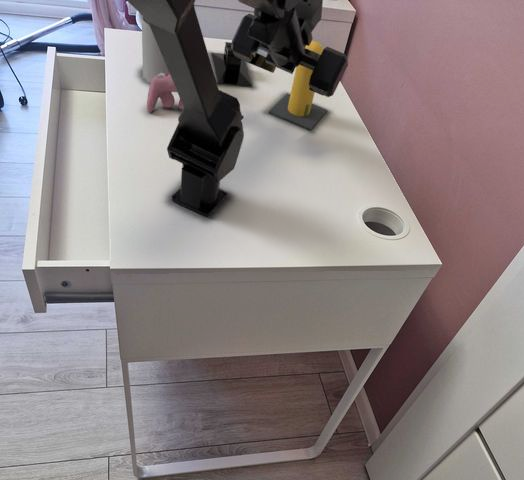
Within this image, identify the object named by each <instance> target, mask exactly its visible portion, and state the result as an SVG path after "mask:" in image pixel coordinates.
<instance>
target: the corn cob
mask: <svg viewBox="0 0 524 480" xmlns="http://www.w3.org/2000/svg"><path fill="white" fill-rule="evenodd" d="M305 48H306V49H308V50H311V51H313V52H315V53H318V54H320V55H321V54H322V52H323V50H324V48H323V46H322V45H321V43H320V42H318V41H316V40H312V41H311V43H310V45H309V46H307V45H306V47H305ZM306 56H307V55H306ZM308 57H309V56H308ZM317 61H318V60H317ZM312 72H313V70H311V69H309V68H306V67H304V66H302V65H299V66H297V67H295V70H294V76H293V82H292V84H291V85H292V86H291V91H290V99H289V104H288V111H289V112H290V113H291V114H293V115H296V116H300V117H307V116H308V115H309V113H310V109H311V105H312V104H313V101H314V97H315V94H316V92H313V91H311V90H309V88H310V87H309V81H310V76H311V74H312Z"/></svg>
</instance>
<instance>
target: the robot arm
mask: <svg viewBox="0 0 524 480" xmlns="http://www.w3.org/2000/svg"><path fill="white" fill-rule="evenodd" d="M126 1H127V3H129V4H130V5H131V6H132V7H133V8H134V9H135V10H136V11H137V12H138V13H139V14H140V15H141V17H142V16H143V17H144V18H145V19H146V20H147V21H148V23H149V26H150V28H151V30H152V33H153V35H154V37H155V40H156V42H157V45H158V47H159V49H160V52H161V54H162V56H163V59H164V61H165V64H166V66H167V68H168V71H169V73H170V76H171V78H172V80H173V83H174V85H175V87H176V90H177V92H176V93H177V94H178V97H179V100H180V99H181V102H182V104H183V107H184V108H183V110H181V112H180V114H178V117H177V121H178V123H177V125H176V127H175V130H174V132H173V134H172V136H171V138H170V141H169V143H168V145H167V147H166V150H167V151H166V152H167V154H168V158H169V159H170V160H174V161H176V162H179V163H180V164H181V174H180V175H181V176H180V177H181V178H180V188H179V189H178V190H177V191H175V193H174V194H172V195H171V201H172V202H174V203H175V204H178V205H180V206H183V207H185V208H187V209H189V210H191V211H194V212H196V213H197V214H200V215H201V216H204V217H209V216H210V215H211V214H212V213H213V212H214V211H215V210H216V209H217V208H218V207H219V206H220V204H221V203H222V202H223V201H224V200H225V199H226V198H227V197H228V192H226V191H225V190H222V189H220V185H221V181H222V180H223V179H224V178H226V177H227V176H228V175H229V174H230V173H231V172H232V171H233V170H234V169H235V168H236V165H237V161H238V159H239V155H240V151H241V148H242V144H243V142H244V137H245V133H244V125H243V122H242V121H243V119H244V118H245V116H244V115H243V114H242V110H241V104H240V101H239V100H238V98H237V97H235V96H233V95H231V94H228V93H226V92H225V91H222V90H220V89H219V87H218V84H217V79H216V75H215V71H214V68H213V65H212V62H211V59H210V56H209V52H208V48H207V46H206V42H205V39H204V35H203V32H202V28H201V25H200V21H199V18H198V15H197V11H196V8H195V7H196V6H195V2H196V0H126ZM237 1H238V3H241V4H243V5H245V6H248V7H250V8H253V14H252V13H247V14H245V15H244V16H243V17H242V18H241V20H240V23H239V25H238V27H237V29H236V31H235V34H234V35H233V38H232V40H231V43H232V44H231V47H232V51H233V53H234V55H235V56H236V57H238V58H240V59H242V60H243V61H246V63H248V64H250V65H252V66H255V67H257V68H259V69H262V70H265V71H267V72H269V73H272V74H274V73H275V71H276V69H280V70H282V71H283V72H286V73H288V74H291V75H293V73H295V71H296V67H297V66H299V65H302V66H304V67H306V68H309V69H311V70H313V72H312V74H311V76H310V81H309V87H310V88H309V90H311V91H313V92H315V94H318V95H319V96H324V97H327V98H330V97H332V96H334V94H335V92H336V90H337V88H338V86H339V84H340V82H341V80H342V78H343V76H344V74H345V72H346V71H347V69H348V66H349V61H348V56H347V54H346V53H343V52H342V51H339V50H336V49H334V48H332V47H329V46H326V47H324V48H323V52H322V54H321V55H320V54H318V53H315V52H313V51H311V50H308V49H306V48H305V47H306V45H307V46H309V45H310V43H311V41H313V34H312V33H313V31H314V29H316V26H317V25H318V24H319V22H321V20H322V16H323V2H324V0H237ZM306 55H307V56H306ZM308 56H309V57H308ZM317 60H318V61H317Z"/></svg>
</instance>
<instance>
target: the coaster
mask: <svg viewBox="0 0 524 480" xmlns="http://www.w3.org/2000/svg"><path fill="white" fill-rule="evenodd" d="M290 95H291V93H288V92H287V93H286V94H285V95H284V96H283V97H282V98H281V99H280V100H279V101H278V102H277V103H276V104H274V106H273V107H271V108H270V109H269V110H268V114H270V115H272V116H274V117H276V118H278V119H282V120H284V121H286V122H288V123H291V124H293V125H296V126H298V127H299V128H303V129H305V130H308V131H309V132H311V131H312V130H313V129H314V128H315V126H316V125H317V124H318V123H319V122H320V121H321V120H322V118H323V117H324V116H325V115H326V114H327V113H328V109H326V108H324V107H322V106H319V105H317V104H315V103H312V105H311V109H310V113H309V115H308V116H307V117H300V116H296V115H293V114H291V113H290V112H289V111H288V104H289V99H290Z"/></svg>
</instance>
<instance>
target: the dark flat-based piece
mask: <svg viewBox="0 0 524 480" xmlns="http://www.w3.org/2000/svg"><path fill="white" fill-rule="evenodd" d="M231 44H232V42H228V41H225V42H224V50H223V53H219V52H211V53H210V56H211V61H212V67H213V71H214V76H215V79H216V82H217V85H222V86H233V87H245V88H252V87H253V83H252V80H251V77H250V73H249V70H248V67H247V62H246V61H243V60H242V59H240V58H238V57H236V56H235V55H234V53H233V51H232V47H231Z"/></svg>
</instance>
